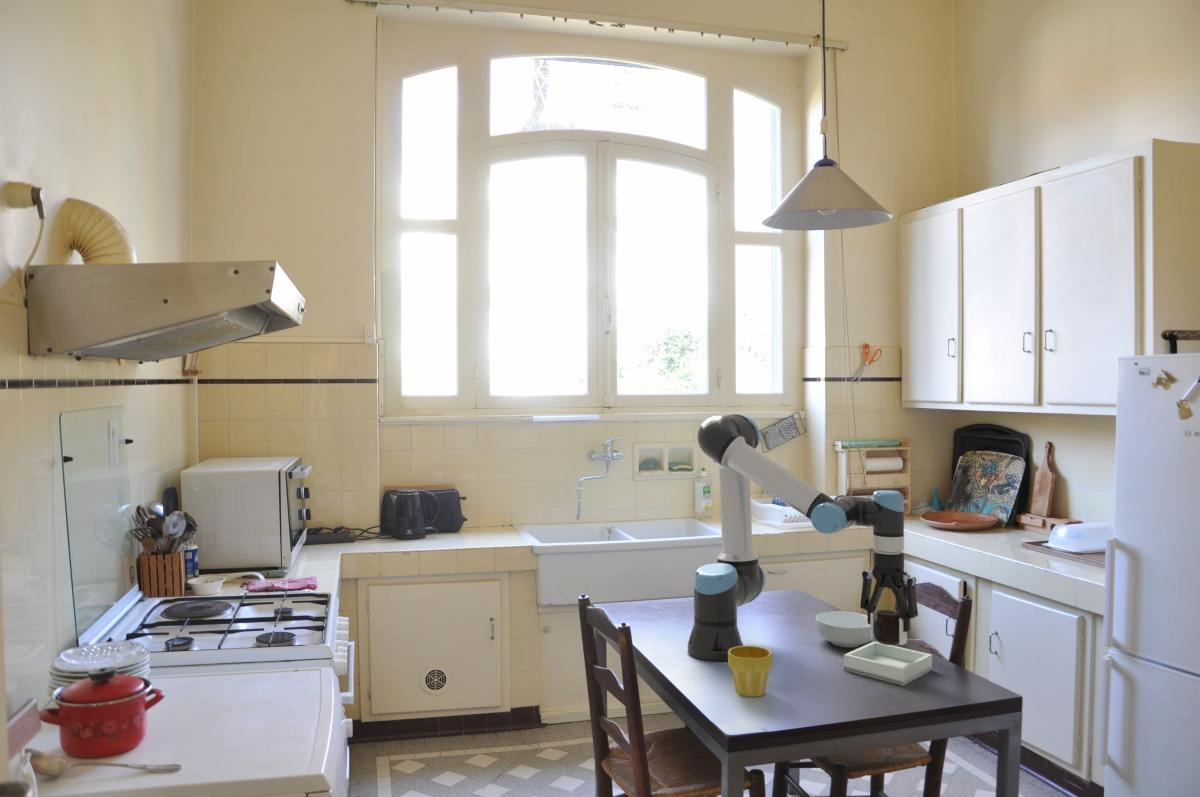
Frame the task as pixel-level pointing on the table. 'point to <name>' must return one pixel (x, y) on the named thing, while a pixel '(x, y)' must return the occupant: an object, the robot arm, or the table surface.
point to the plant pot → (750, 669)
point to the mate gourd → (887, 627)
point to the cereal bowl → (844, 628)
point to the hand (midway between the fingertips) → (888, 640)
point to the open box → (888, 663)
